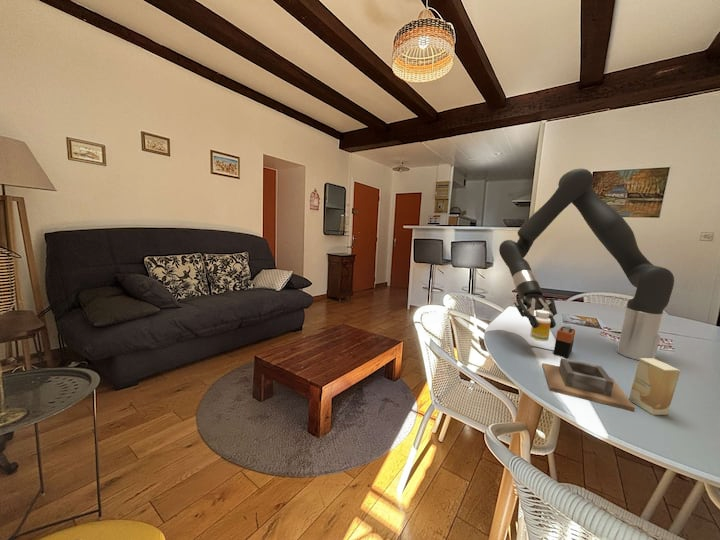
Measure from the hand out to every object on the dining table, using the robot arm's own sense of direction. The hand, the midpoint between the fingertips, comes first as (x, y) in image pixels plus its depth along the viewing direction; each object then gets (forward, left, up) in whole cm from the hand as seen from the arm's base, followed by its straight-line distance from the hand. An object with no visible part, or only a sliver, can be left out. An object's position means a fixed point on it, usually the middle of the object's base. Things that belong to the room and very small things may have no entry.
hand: (544, 327), depth 98 cm
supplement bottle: (+1, -2, -5) cm, 5 cm away
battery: (-8, -8, -11) cm, 16 cm away
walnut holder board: (-9, +15, -11) cm, 20 cm away
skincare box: (-22, +19, -11) cm, 31 cm away
